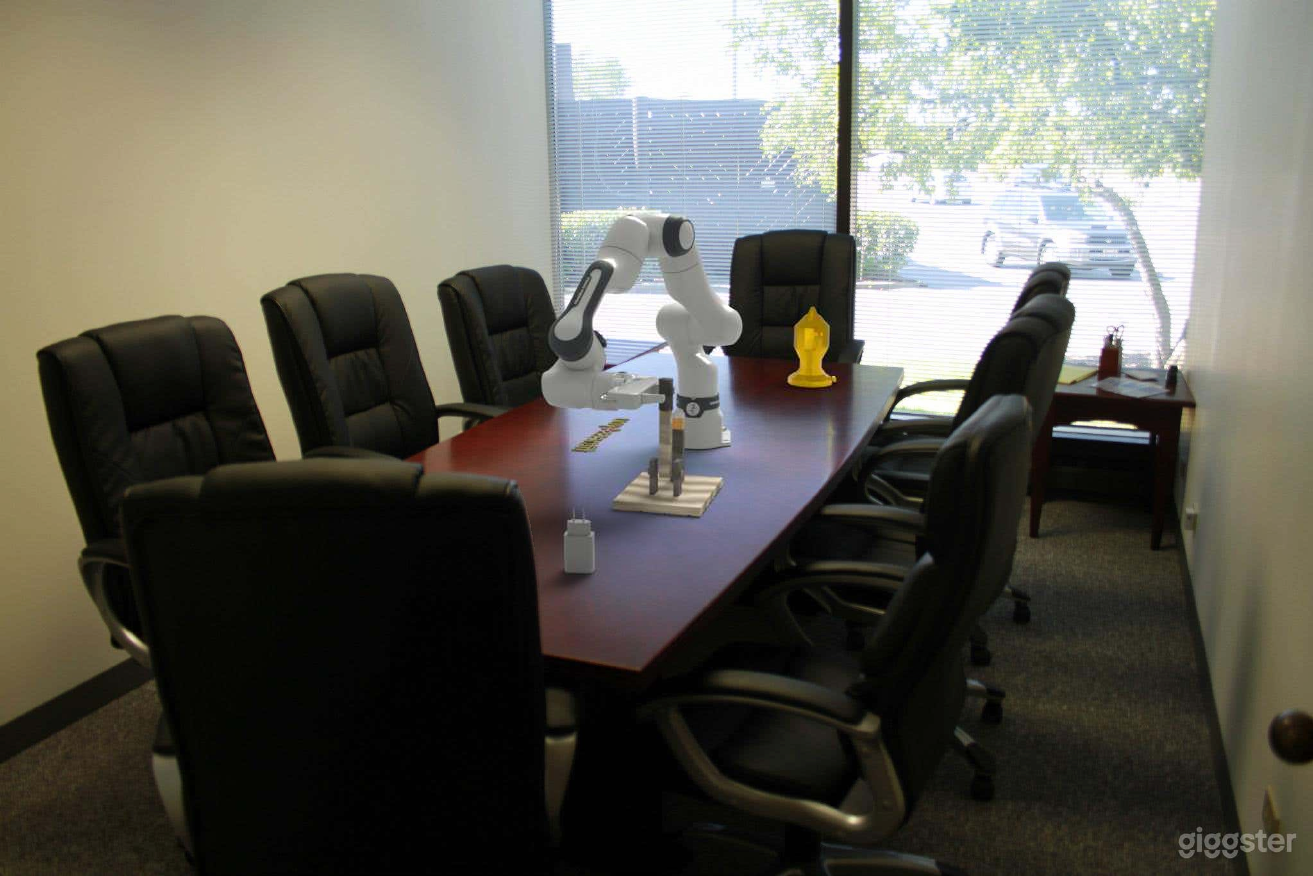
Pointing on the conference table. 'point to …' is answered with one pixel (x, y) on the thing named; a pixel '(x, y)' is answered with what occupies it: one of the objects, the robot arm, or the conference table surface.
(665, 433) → the lever
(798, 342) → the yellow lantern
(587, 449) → the text sign
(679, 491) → the frame
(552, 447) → the conference table surface
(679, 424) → the pin
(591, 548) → the power adapter
